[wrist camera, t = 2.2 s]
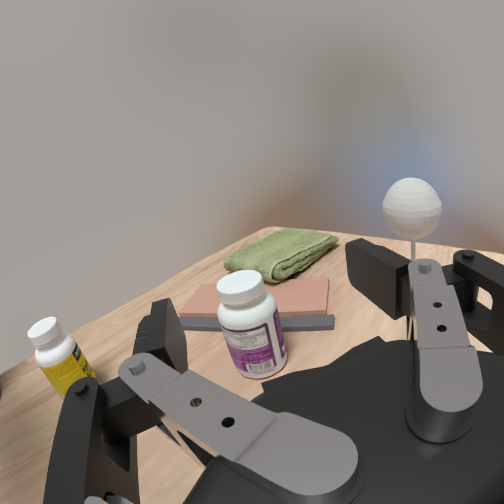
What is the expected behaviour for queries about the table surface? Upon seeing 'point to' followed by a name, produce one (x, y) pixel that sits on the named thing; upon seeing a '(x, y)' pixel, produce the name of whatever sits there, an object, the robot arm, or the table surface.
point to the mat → (287, 299)
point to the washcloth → (281, 253)
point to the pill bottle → (251, 324)
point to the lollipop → (412, 209)
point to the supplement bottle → (58, 355)
